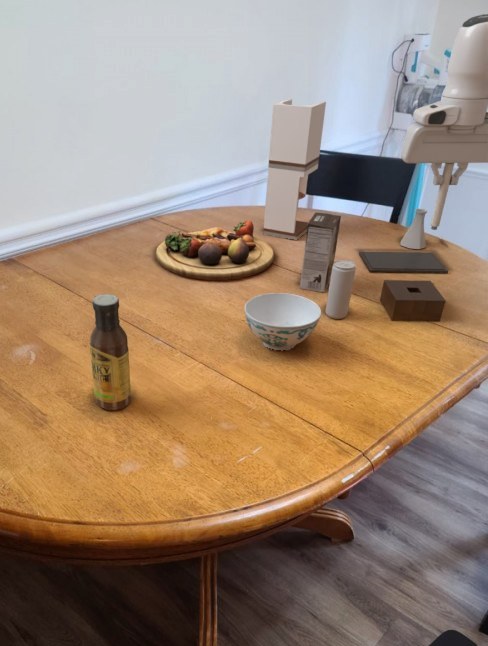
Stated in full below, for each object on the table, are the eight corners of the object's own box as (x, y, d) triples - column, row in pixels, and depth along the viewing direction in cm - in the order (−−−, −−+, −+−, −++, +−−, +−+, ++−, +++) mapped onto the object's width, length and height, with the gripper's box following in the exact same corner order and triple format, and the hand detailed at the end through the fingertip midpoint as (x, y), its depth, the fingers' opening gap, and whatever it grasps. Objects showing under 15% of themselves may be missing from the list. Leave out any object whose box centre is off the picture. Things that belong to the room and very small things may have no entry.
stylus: (436, 227, 127) (452, 161, 118) (439, 230, 125) (455, 163, 117) (428, 227, 127) (444, 161, 118) (431, 230, 125) (447, 163, 117)
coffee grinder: (296, 240, 165) (311, 107, 145) (263, 234, 169) (273, 104, 149) (310, 229, 173) (326, 101, 153) (277, 224, 177) (289, 98, 157)
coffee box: (306, 275, 144) (315, 211, 135) (332, 279, 142) (342, 214, 133) (298, 288, 138) (306, 223, 128) (324, 293, 136) (335, 226, 126)
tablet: (431, 255, 156) (432, 251, 155) (447, 273, 145) (448, 270, 145) (358, 254, 156) (359, 251, 156) (369, 272, 146) (370, 269, 145)
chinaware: (330, 342, 116) (336, 308, 111) (286, 370, 107) (290, 334, 103) (272, 319, 125) (275, 286, 120) (227, 343, 116) (229, 308, 111)
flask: (396, 246, 161) (404, 211, 155) (404, 239, 166) (412, 204, 160) (421, 251, 158) (430, 215, 152) (429, 244, 163) (438, 209, 157)
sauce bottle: (89, 400, 99) (76, 296, 88) (118, 387, 102) (110, 285, 91) (108, 417, 95) (97, 310, 84) (139, 403, 98) (132, 299, 87)
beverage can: (340, 322, 123) (349, 270, 116) (320, 315, 126) (328, 264, 119) (351, 314, 126) (360, 263, 119) (332, 308, 129) (340, 257, 122)
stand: (425, 300, 132) (430, 280, 129) (440, 321, 124) (446, 300, 121) (379, 299, 133) (384, 279, 130) (391, 320, 124) (396, 299, 121)
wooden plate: (229, 231, 172) (231, 203, 167) (298, 265, 149) (301, 235, 145) (135, 251, 158) (134, 221, 153) (195, 292, 136) (195, 259, 131)
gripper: (507, 109, 115) (487, 180, 123) (406, 110, 115) (392, 181, 123) (522, 114, 109) (500, 188, 117) (415, 115, 110) (401, 188, 118)
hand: (444, 184), depth 120 cm, fingers closed on stylus, 2 cm apart
